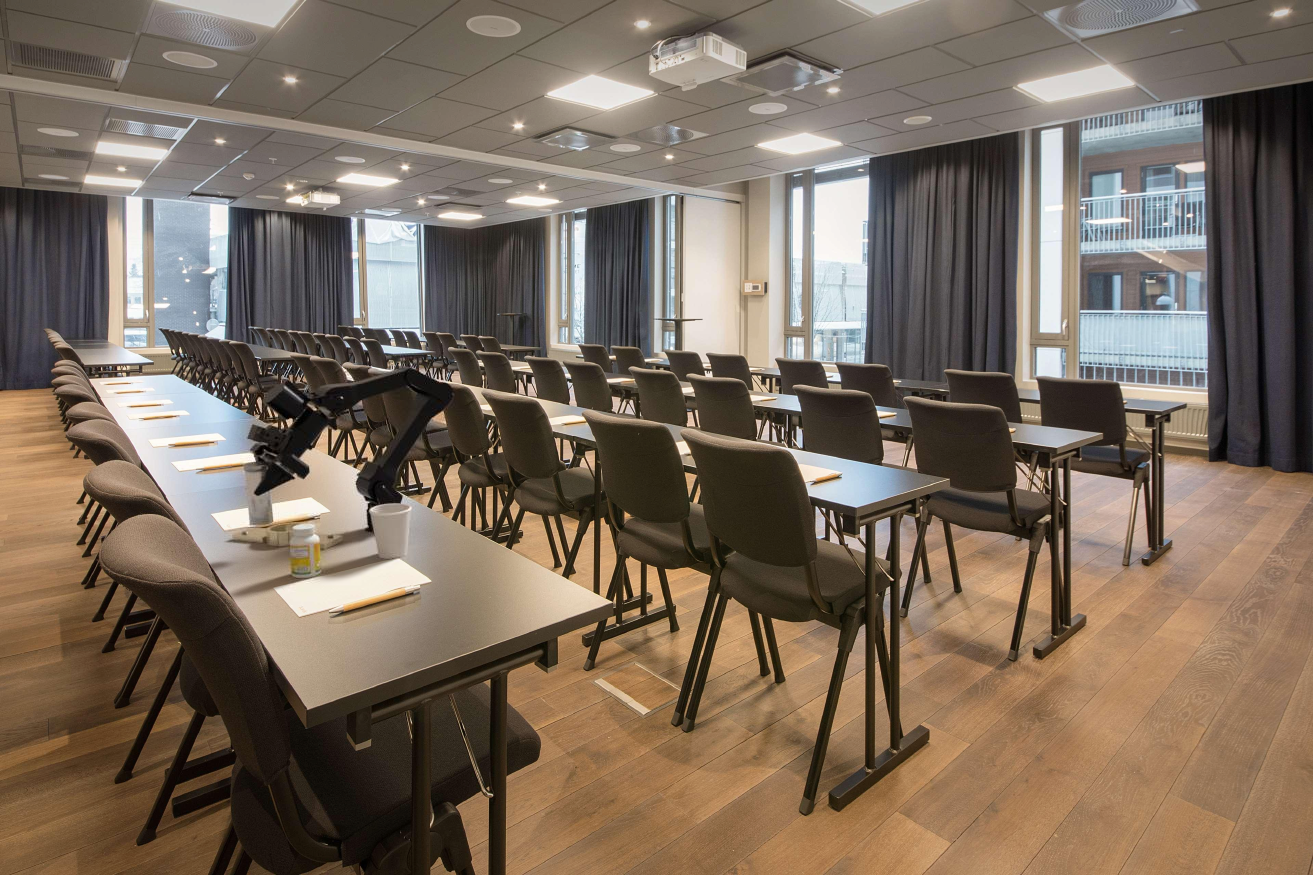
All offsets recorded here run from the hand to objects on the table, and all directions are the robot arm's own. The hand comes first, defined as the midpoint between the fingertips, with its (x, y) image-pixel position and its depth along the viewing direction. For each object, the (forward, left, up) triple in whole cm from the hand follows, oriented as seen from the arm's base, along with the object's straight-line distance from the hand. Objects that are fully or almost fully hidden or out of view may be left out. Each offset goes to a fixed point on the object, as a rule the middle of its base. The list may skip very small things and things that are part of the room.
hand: (251, 492), depth 159 cm
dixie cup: (-27, -8, -14) cm, 31 cm away
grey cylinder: (-1, -1, -7) cm, 7 cm away
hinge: (+1, -10, -13) cm, 17 cm away
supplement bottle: (-18, +7, -14) cm, 23 cm away
